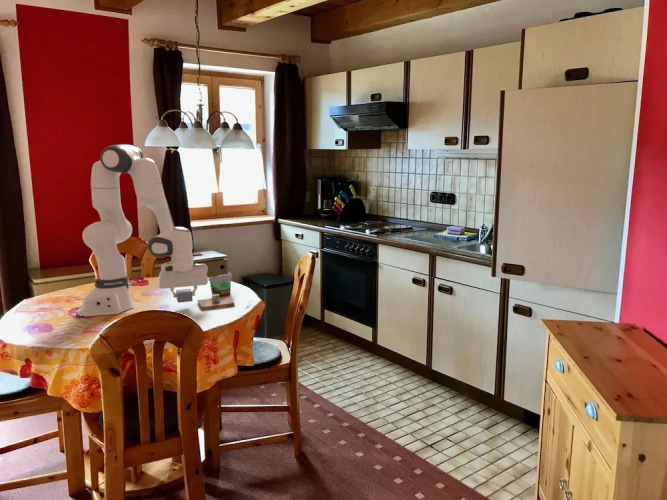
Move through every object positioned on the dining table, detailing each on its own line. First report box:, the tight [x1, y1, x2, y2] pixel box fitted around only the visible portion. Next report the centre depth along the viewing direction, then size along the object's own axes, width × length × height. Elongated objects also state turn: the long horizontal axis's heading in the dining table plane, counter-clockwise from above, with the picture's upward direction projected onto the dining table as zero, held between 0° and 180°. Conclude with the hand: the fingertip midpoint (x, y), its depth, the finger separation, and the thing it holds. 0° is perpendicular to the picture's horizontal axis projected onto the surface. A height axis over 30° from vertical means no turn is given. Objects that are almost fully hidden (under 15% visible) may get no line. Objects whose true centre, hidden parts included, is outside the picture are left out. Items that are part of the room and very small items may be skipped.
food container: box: [208, 271, 233, 297], centre depth 251 cm, size 12×6×10 cm, turn 143°
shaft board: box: [197, 294, 236, 311], centre depth 236 cm, size 14×12×4 cm
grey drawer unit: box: [175, 288, 193, 304], centre depth 231 cm, size 6×6×4 cm
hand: (184, 296), depth 231 cm, fingers closed on grey drawer unit, 6 cm apart
